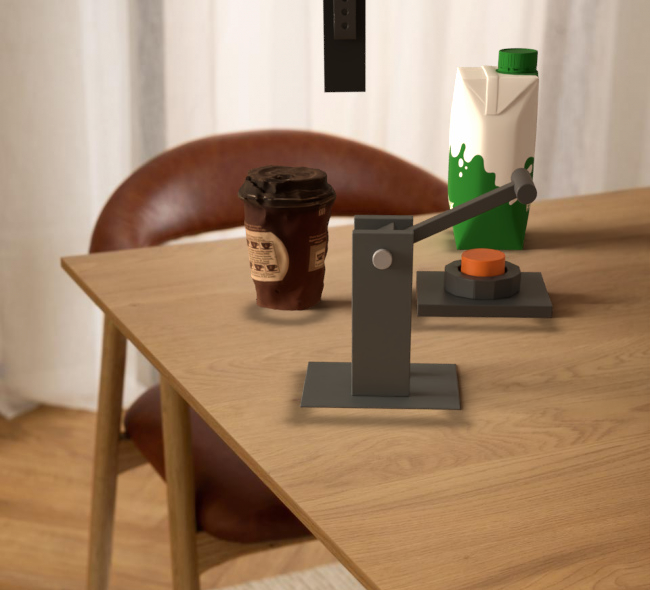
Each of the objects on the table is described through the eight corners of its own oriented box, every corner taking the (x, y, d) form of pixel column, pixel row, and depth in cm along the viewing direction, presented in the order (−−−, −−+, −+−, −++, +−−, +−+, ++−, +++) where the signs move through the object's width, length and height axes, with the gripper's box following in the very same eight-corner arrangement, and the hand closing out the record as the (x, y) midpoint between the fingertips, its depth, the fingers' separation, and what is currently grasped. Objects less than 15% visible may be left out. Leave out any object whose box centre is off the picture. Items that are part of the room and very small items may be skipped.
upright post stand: (455, 377, 96) (463, 208, 90) (459, 423, 88) (468, 242, 82) (308, 374, 97) (305, 207, 91) (300, 420, 89) (296, 240, 83)
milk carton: (532, 253, 127) (547, 56, 118) (447, 252, 127) (455, 56, 118) (523, 230, 135) (536, 44, 125) (443, 230, 135) (451, 45, 126)
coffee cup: (271, 333, 106) (267, 187, 100) (225, 307, 112) (219, 169, 106) (351, 314, 110) (352, 173, 104) (303, 291, 116) (301, 157, 110)
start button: (502, 266, 111) (503, 248, 110) (505, 279, 107) (507, 261, 106) (459, 266, 111) (460, 248, 110) (461, 279, 108) (462, 260, 107)
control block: (539, 293, 115) (542, 253, 113) (550, 329, 106) (554, 286, 104) (415, 292, 116) (416, 252, 114) (416, 327, 107) (418, 285, 105)
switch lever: (535, 188, 87) (523, 158, 86) (542, 205, 83) (530, 174, 82) (373, 260, 90) (360, 232, 89) (371, 280, 86) (357, 251, 85)
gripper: (289, -262, 85) (297, 51, 95) (271, -306, 63) (284, 107, 73) (394, -264, 85) (390, 49, 95) (413, -309, 63) (406, 106, 73)
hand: (344, 75), depth 84 cm, fingers open, 13 cm apart
